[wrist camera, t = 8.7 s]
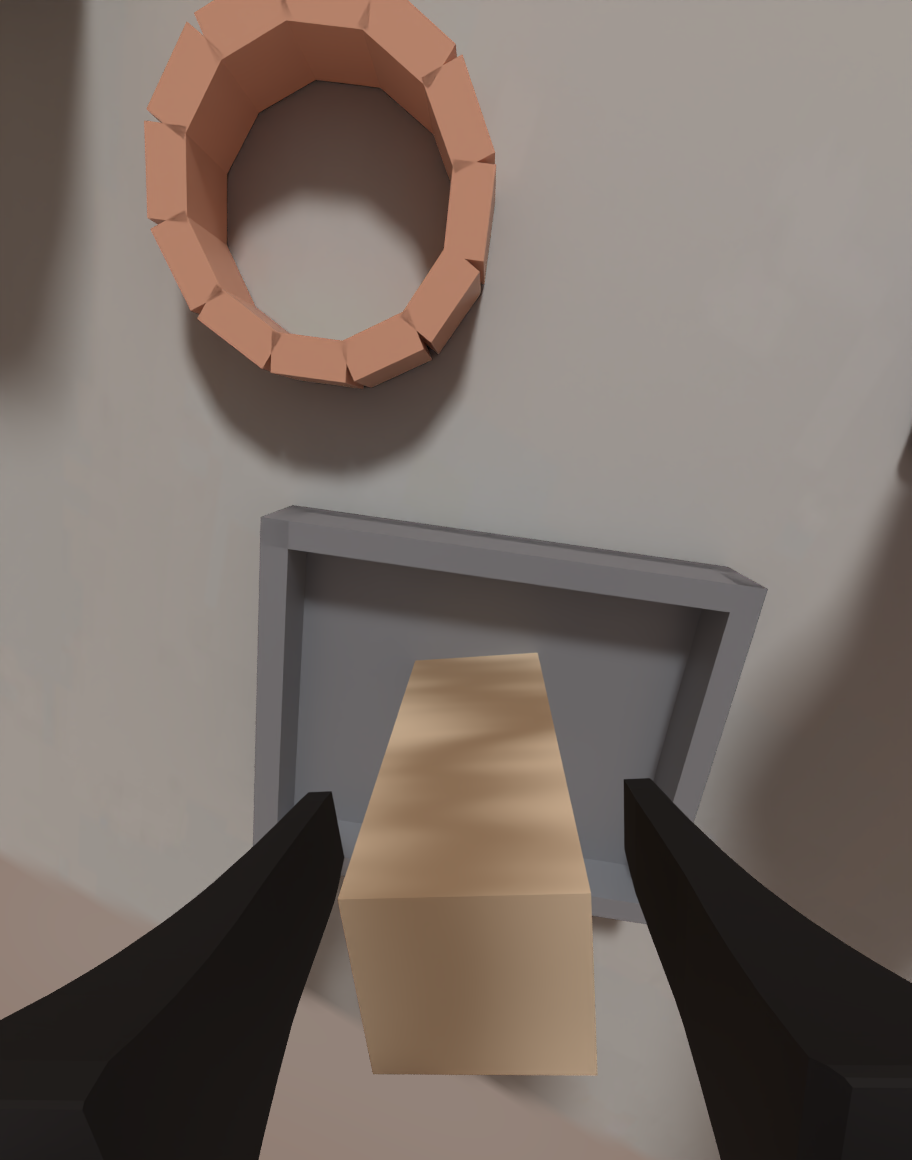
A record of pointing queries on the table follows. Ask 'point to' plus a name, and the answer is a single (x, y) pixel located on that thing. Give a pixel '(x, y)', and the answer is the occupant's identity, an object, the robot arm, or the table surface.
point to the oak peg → (472, 884)
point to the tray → (486, 628)
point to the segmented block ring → (222, 122)
